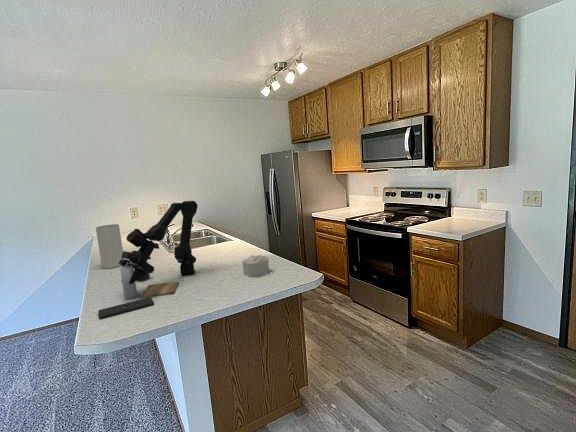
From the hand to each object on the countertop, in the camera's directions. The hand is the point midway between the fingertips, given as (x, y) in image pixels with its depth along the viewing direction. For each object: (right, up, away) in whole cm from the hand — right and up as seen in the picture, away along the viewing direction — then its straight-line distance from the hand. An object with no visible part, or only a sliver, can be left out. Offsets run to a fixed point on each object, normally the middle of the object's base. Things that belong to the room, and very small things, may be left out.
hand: (126, 283), depth 143 cm
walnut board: (+12, -5, +8) cm, 16 cm away
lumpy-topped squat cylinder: (+56, 0, +24) cm, 61 cm away
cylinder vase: (-36, -1, +57) cm, 68 cm away
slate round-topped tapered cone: (+1, -7, +2) cm, 7 cm away
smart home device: (+6, -9, -10) cm, 15 cm away
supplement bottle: (-4, -4, +26) cm, 27 cm away
